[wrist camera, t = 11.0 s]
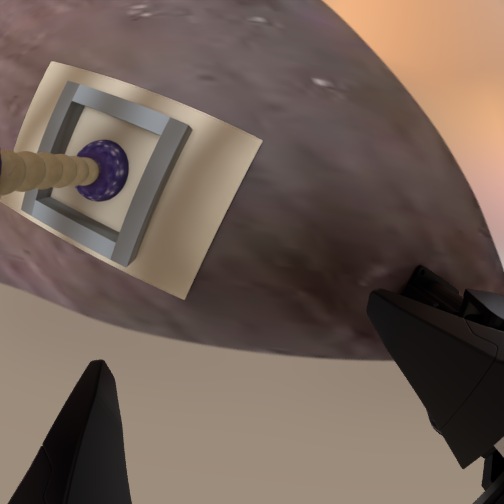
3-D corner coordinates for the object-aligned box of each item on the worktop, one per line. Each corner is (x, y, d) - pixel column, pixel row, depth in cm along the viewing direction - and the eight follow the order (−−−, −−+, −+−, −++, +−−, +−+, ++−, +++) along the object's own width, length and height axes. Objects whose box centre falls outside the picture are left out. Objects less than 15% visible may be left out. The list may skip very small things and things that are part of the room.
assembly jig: (261, 141, 18) (266, 136, 16) (185, 295, 21) (180, 313, 18) (56, 63, 15) (38, 54, 12) (5, 200, 18) (-15, 204, 15)
